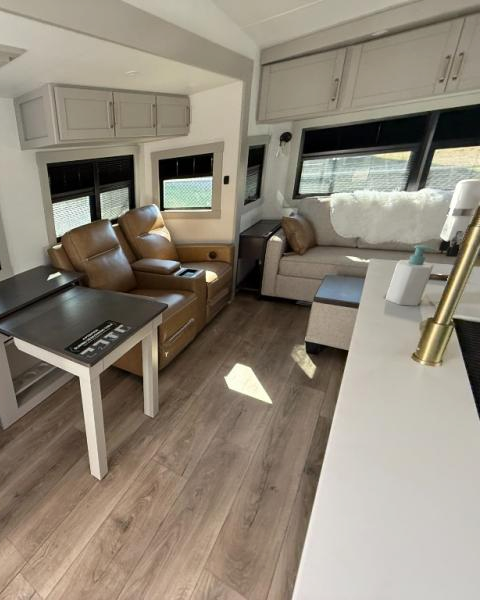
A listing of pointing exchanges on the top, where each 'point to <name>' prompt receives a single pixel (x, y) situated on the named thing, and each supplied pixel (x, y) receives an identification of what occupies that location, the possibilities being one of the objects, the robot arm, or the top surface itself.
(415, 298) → the soap bottle
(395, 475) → the top surface
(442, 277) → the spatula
